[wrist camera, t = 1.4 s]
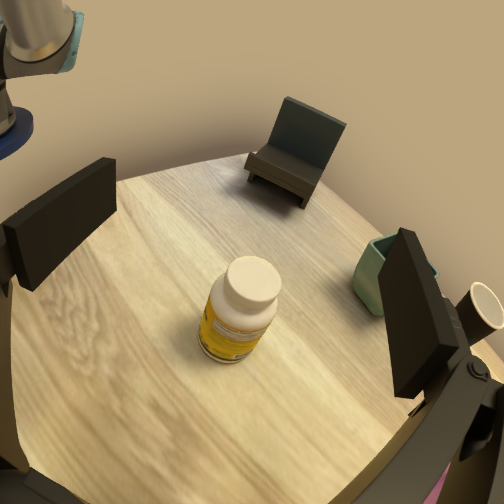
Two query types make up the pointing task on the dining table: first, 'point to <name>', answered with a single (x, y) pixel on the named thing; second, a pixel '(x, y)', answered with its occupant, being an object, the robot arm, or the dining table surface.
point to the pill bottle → (239, 309)
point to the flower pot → (374, 272)
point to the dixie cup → (479, 313)
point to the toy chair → (297, 149)
